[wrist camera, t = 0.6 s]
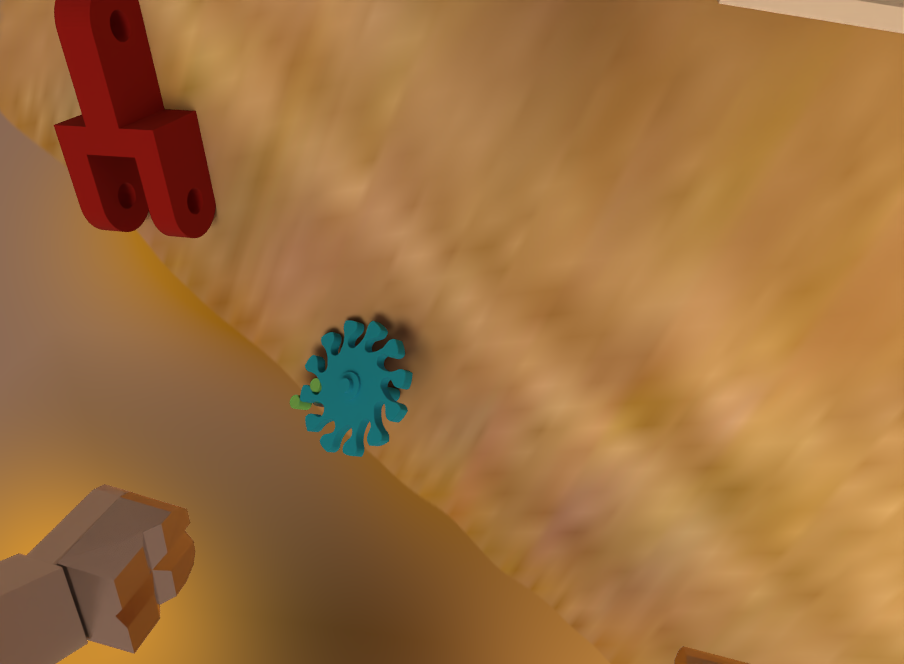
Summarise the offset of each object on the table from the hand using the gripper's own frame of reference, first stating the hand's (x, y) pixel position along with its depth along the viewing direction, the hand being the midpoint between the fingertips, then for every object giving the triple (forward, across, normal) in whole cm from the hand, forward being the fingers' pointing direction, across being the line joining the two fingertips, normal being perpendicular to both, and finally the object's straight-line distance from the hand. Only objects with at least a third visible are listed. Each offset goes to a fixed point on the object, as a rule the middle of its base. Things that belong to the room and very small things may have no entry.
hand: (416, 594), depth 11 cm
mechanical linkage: (+34, +29, +4) cm, 45 cm away
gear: (+34, +14, +21) cm, 43 cm away
